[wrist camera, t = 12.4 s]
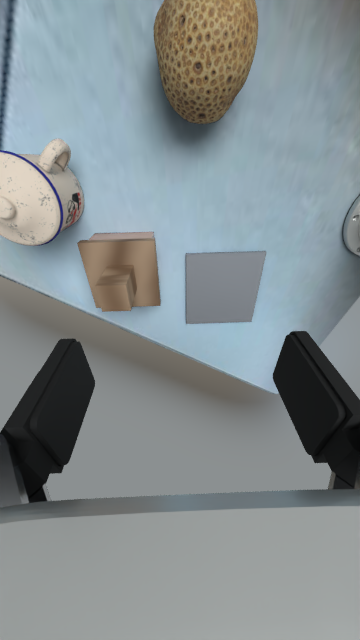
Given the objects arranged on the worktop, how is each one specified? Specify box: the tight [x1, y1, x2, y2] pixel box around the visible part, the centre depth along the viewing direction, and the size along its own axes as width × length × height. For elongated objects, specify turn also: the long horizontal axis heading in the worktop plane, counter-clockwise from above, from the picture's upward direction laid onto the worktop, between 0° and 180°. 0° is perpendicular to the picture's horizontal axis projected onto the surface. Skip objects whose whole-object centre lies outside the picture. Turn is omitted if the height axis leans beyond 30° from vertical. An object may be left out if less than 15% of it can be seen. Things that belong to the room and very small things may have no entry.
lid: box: [77, 238, 161, 312], centre depth 30 cm, size 10×10×7 cm
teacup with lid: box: [0, 139, 84, 246], centre depth 25 cm, size 12×9×12 cm
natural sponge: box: [154, 0, 258, 124], centre depth 20 cm, size 9×9×10 cm
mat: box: [186, 251, 266, 324], centre depth 40 cm, size 13×14×1 cm
